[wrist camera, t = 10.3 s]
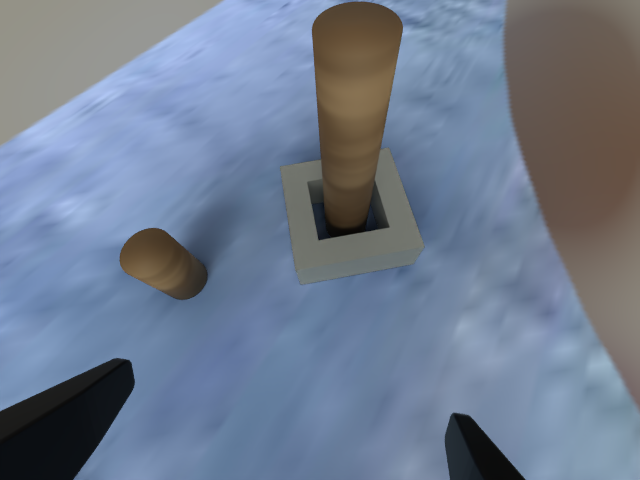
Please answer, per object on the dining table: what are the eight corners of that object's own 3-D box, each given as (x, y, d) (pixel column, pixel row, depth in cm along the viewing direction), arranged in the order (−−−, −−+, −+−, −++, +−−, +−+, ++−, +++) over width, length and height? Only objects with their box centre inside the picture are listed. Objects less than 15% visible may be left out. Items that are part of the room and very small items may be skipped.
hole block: (413, 264, 21) (424, 246, 18) (300, 284, 21) (295, 270, 18) (383, 173, 24) (389, 147, 22) (286, 190, 24) (280, 166, 22)
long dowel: (373, 229, 22) (421, 32, 10) (340, 250, 22) (345, 69, 9) (350, 201, 24) (366, -9, 11) (318, 220, 23) (295, 22, 10)
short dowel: (207, 295, 21) (171, 271, 16) (164, 303, 21) (116, 281, 16) (207, 256, 22) (173, 223, 18) (166, 263, 22) (122, 232, 18)
